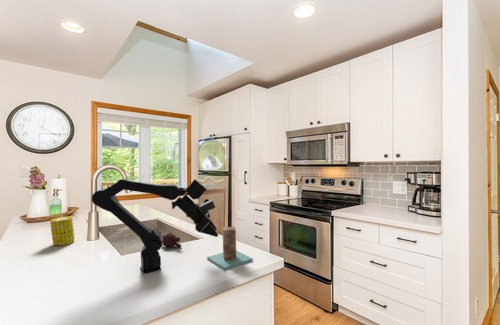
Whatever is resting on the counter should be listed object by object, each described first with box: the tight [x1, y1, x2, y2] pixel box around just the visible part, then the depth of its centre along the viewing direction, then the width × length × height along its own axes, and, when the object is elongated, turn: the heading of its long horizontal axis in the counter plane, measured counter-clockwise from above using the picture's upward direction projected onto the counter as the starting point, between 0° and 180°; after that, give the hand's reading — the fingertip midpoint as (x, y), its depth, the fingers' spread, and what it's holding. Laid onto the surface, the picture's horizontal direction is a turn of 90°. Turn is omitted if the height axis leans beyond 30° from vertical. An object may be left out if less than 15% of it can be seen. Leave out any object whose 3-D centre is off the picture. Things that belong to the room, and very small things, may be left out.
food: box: [50, 215, 76, 246], centre depth 135 cm, size 15×12×10 cm
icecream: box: [162, 232, 182, 249], centre depth 127 cm, size 7×7×15 cm
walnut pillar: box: [222, 226, 237, 261], centre depth 108 cm, size 5×5×12 cm
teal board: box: [206, 250, 254, 271], centre depth 108 cm, size 14×14×1 cm
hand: (216, 232), depth 107 cm, fingers open, 9 cm apart
